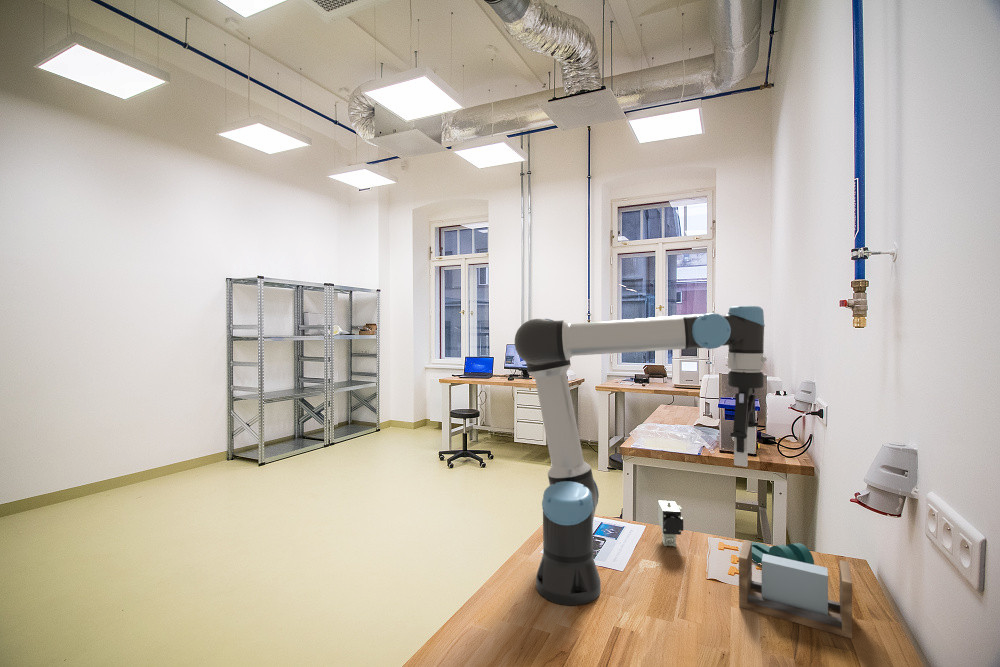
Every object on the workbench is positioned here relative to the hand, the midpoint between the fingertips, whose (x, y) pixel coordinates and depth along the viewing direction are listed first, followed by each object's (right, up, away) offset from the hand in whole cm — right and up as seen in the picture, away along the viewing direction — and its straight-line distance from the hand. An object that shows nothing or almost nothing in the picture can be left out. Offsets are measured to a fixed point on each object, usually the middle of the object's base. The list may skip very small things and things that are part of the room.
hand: (744, 459), depth 114 cm
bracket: (+12, -30, +8) cm, 33 cm away
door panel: (+5, -29, -11) cm, 31 cm away
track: (+5, -30, -11) cm, 32 cm away
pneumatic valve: (-10, -30, +21) cm, 38 cm away
